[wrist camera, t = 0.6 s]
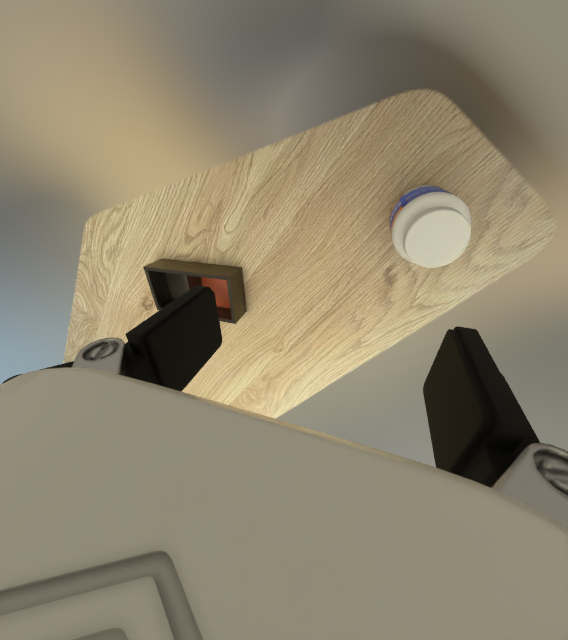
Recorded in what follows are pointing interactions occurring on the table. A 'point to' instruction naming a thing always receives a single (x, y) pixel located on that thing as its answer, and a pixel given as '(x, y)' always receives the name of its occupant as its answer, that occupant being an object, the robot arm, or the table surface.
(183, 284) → the brown wooden tray
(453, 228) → the pill bottle
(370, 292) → the table surface
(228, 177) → the table surface
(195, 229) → the table surface
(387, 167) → the table surface
